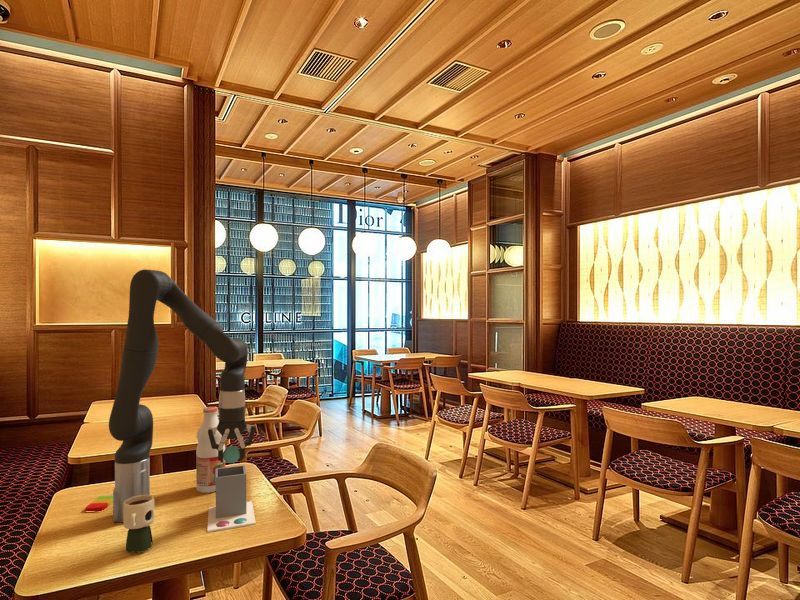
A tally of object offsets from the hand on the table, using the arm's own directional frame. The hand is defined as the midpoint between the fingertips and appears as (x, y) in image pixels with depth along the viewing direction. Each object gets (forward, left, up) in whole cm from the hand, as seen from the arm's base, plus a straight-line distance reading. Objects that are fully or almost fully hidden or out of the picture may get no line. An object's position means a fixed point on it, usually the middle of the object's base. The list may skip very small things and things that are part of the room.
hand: (231, 460), depth 142 cm
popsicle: (-38, +27, -18) cm, 50 cm away
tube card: (0, 0, -17) cm, 17 cm away
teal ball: (0, 0, +2) cm, 2 cm away
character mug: (-23, -11, -17) cm, 31 cm away
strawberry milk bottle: (-6, +26, -17) cm, 32 cm away
